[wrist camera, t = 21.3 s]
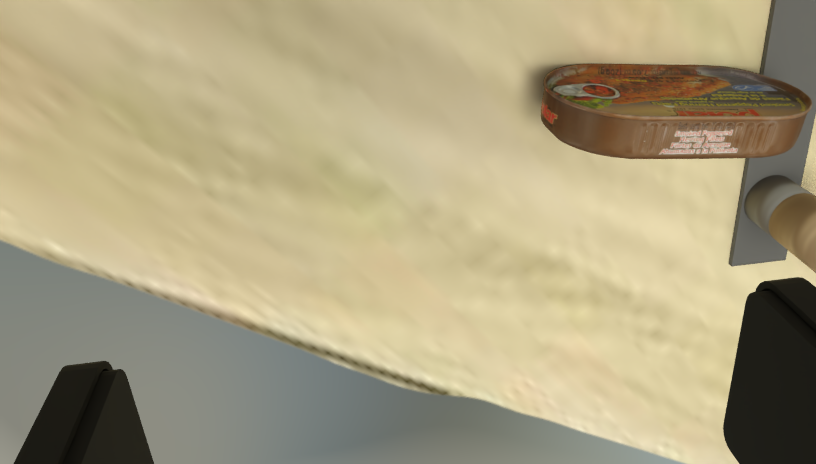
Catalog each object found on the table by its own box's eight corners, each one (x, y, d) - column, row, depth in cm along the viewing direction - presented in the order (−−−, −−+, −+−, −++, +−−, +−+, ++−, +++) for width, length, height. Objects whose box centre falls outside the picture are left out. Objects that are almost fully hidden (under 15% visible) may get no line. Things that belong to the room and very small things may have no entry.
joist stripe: (783, -69, 41) (787, -68, 41) (849, -74, 41) (854, -74, 41) (728, 263, 51) (731, 266, 51) (782, 257, 52) (785, 259, 51)
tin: (761, 65, 45) (850, 106, 37) (748, 114, 46) (831, 162, 39) (527, 61, 43) (571, 103, 36) (521, 112, 44) (562, 163, 37)
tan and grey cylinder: (748, 178, 48) (823, 232, 41) (799, 172, 48) (883, 224, 41) (740, 226, 49) (811, 286, 42) (790, 220, 50) (869, 279, 43)
